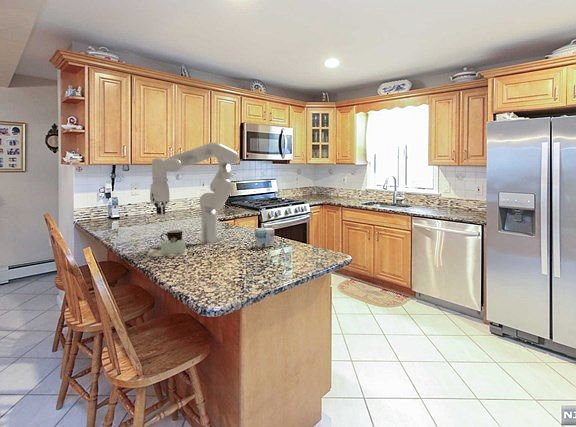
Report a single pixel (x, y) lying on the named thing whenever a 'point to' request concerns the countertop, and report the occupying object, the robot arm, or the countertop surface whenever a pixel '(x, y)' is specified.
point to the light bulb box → (264, 237)
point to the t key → (161, 213)
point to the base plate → (158, 253)
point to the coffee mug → (173, 235)
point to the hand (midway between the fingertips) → (160, 213)
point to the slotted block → (173, 247)
